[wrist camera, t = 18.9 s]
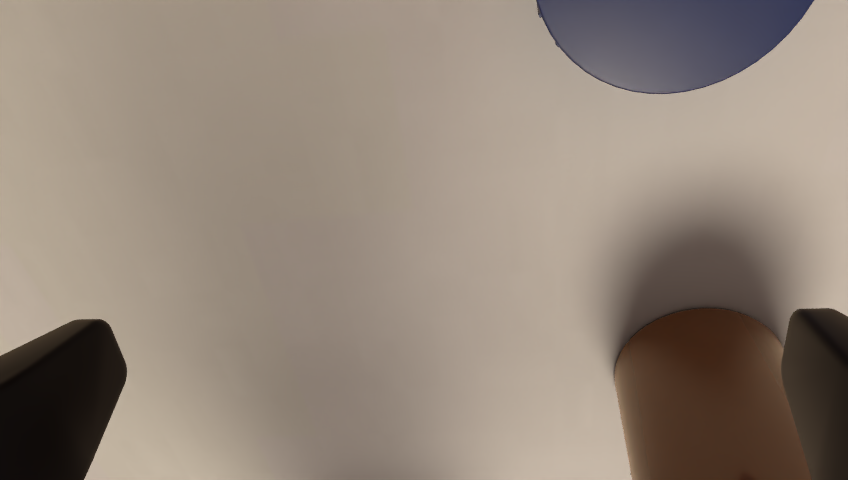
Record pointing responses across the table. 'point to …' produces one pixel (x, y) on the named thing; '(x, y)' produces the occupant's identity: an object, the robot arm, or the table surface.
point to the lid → (668, 38)
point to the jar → (707, 400)
